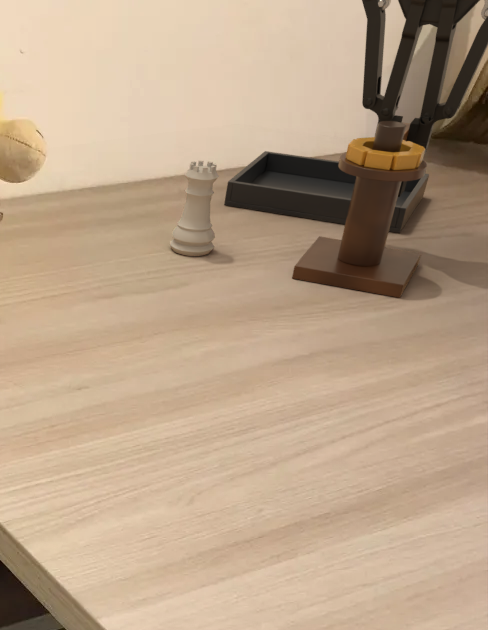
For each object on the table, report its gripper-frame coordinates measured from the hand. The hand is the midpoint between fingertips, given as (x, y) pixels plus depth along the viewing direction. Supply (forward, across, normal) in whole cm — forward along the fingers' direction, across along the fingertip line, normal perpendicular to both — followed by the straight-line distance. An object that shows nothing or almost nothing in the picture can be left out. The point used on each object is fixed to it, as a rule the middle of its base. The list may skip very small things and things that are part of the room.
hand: (388, 191), depth 103 cm
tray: (+5, -8, +12) cm, 16 cm away
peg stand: (+5, 0, -10) cm, 11 cm away
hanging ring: (-5, 0, -6) cm, 7 cm away
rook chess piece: (+5, -16, -12) cm, 20 cm away
